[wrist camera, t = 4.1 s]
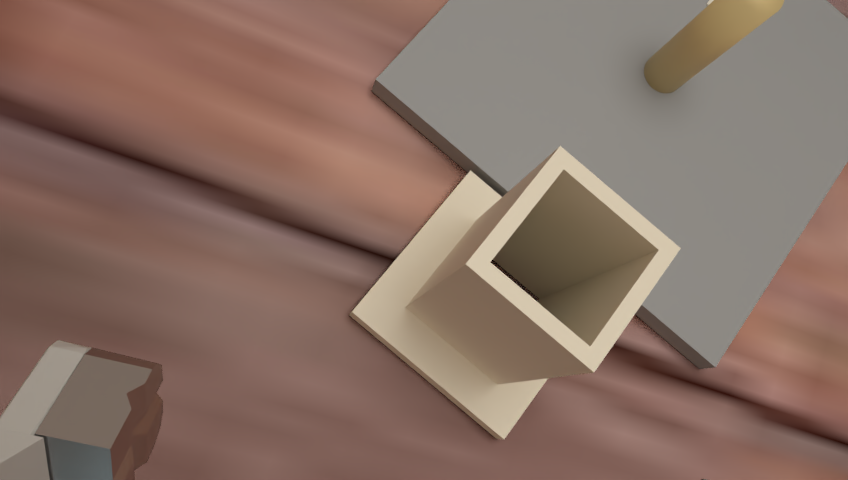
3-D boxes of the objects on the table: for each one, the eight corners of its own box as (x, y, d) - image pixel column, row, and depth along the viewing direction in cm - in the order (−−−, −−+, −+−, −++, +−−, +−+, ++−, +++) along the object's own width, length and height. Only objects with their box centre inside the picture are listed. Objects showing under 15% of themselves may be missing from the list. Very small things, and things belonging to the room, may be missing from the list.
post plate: (699, 368, 33) (837, 354, 25) (371, 90, 33) (408, -12, 25) (887, 79, 38) (1049, -7, 30) (606, -162, 38) (698, -313, 30)
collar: (496, 438, 31) (605, 449, 21) (348, 315, 30) (391, 269, 21) (601, 293, 33) (743, 243, 23) (464, 177, 33) (550, 79, 23)
